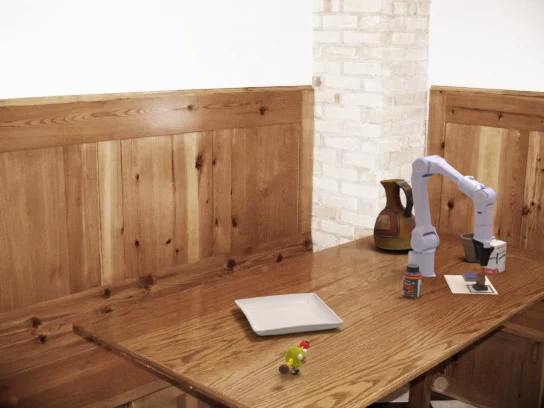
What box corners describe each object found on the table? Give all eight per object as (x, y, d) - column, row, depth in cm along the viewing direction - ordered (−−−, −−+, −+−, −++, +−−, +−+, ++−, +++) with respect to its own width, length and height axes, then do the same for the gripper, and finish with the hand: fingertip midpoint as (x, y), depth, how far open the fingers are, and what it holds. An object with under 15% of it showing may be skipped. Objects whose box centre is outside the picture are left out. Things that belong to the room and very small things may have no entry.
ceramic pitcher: (393, 240, 300) (395, 173, 294) (430, 249, 285) (433, 179, 279) (363, 248, 287) (364, 178, 281) (400, 258, 272) (402, 184, 266)
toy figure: (293, 389, 163) (293, 363, 162) (272, 385, 165) (272, 359, 164) (317, 359, 180) (317, 335, 178) (297, 356, 182) (297, 332, 180)
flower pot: (453, 257, 272) (454, 233, 270) (478, 255, 276) (479, 231, 274) (469, 265, 261) (471, 240, 259) (495, 263, 265) (496, 238, 263)
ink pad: (465, 281, 241) (465, 277, 241) (462, 276, 247) (462, 272, 247) (485, 281, 240) (485, 278, 240) (482, 276, 246) (482, 273, 246)
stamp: (476, 291, 231) (477, 276, 230) (472, 287, 235) (472, 272, 234) (488, 290, 231) (488, 276, 230) (483, 286, 235) (484, 272, 234)
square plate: (254, 343, 192) (254, 330, 191) (233, 310, 217) (233, 298, 217) (344, 332, 199) (344, 320, 198) (314, 301, 224) (314, 290, 224)
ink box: (493, 276, 248) (495, 245, 246) (481, 274, 251) (483, 243, 249) (505, 271, 254) (507, 241, 251) (493, 269, 257) (494, 238, 255)
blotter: (452, 294, 229) (452, 292, 229) (443, 276, 249) (443, 274, 248) (498, 295, 228) (498, 293, 227) (485, 277, 247) (485, 275, 247)
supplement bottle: (400, 299, 225) (401, 266, 223) (405, 293, 230) (406, 261, 228) (417, 301, 223) (419, 268, 220) (422, 296, 228) (424, 263, 225)
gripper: (500, 229, 221) (498, 269, 224) (491, 219, 235) (488, 257, 238) (478, 228, 222) (476, 268, 224) (470, 218, 236) (468, 256, 238)
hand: (481, 262), depth 231 cm, fingers open, 7 cm apart
